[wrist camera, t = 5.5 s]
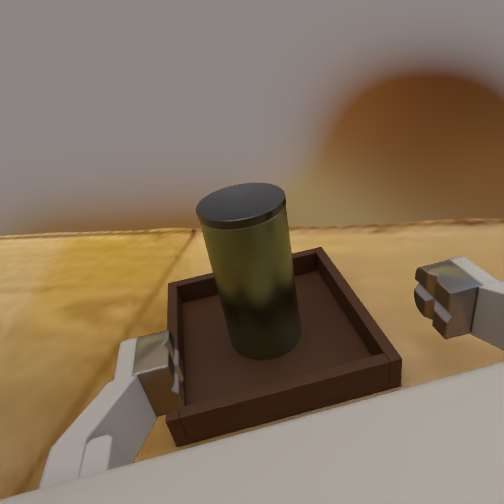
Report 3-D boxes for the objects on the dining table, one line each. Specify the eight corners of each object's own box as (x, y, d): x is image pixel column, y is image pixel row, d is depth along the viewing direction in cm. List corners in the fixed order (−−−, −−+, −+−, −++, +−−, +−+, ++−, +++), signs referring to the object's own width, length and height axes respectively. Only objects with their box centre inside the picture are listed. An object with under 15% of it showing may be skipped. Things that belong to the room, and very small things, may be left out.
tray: (176, 447, 23) (165, 421, 22) (175, 304, 36) (167, 283, 34) (400, 385, 24) (402, 358, 23) (323, 268, 37) (321, 246, 36)
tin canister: (235, 369, 27) (198, 229, 21) (225, 318, 32) (193, 194, 26) (311, 349, 28) (296, 206, 22) (290, 302, 32) (273, 176, 27)
